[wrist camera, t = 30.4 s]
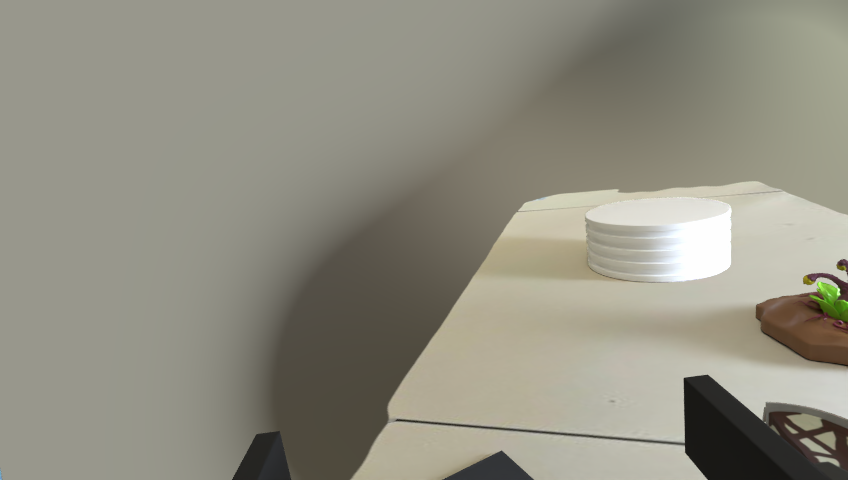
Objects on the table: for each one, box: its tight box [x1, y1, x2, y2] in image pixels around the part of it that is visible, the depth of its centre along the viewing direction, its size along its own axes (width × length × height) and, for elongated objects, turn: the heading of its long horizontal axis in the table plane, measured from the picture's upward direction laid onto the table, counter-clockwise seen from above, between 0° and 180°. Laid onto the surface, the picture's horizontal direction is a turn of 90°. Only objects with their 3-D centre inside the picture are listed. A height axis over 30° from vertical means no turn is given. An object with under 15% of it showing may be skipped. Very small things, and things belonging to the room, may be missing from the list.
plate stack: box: [585, 197, 731, 282], centre depth 103 cm, size 28×28×12 cm
